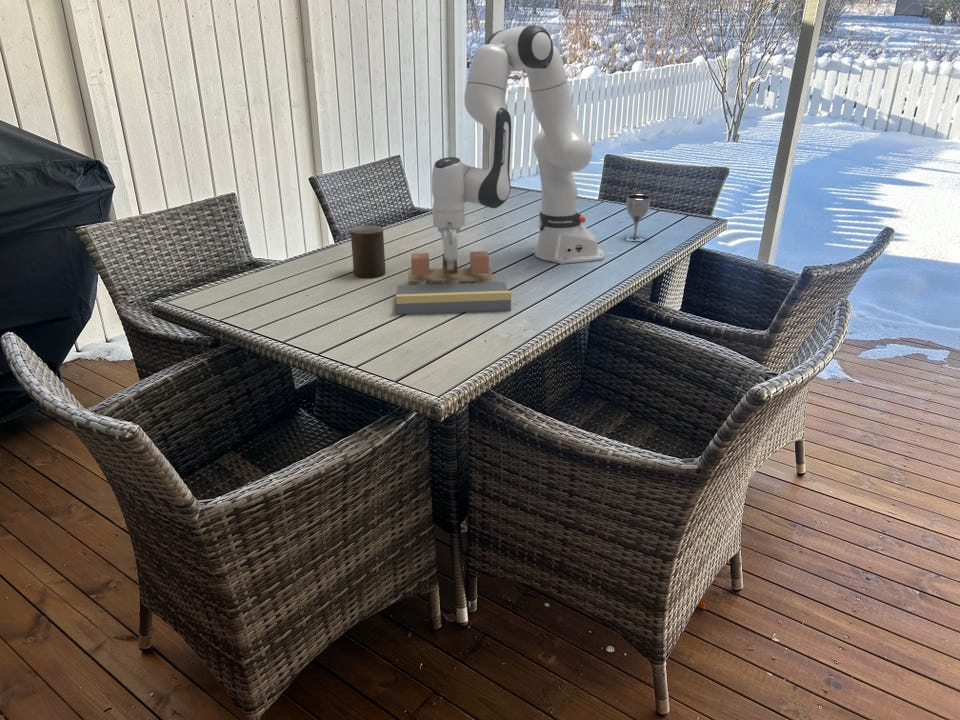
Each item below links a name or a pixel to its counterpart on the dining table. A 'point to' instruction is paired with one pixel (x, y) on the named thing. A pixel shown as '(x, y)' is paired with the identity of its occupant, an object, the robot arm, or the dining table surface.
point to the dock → (452, 298)
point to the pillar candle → (368, 251)
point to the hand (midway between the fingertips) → (450, 266)
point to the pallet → (449, 275)
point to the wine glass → (637, 209)
